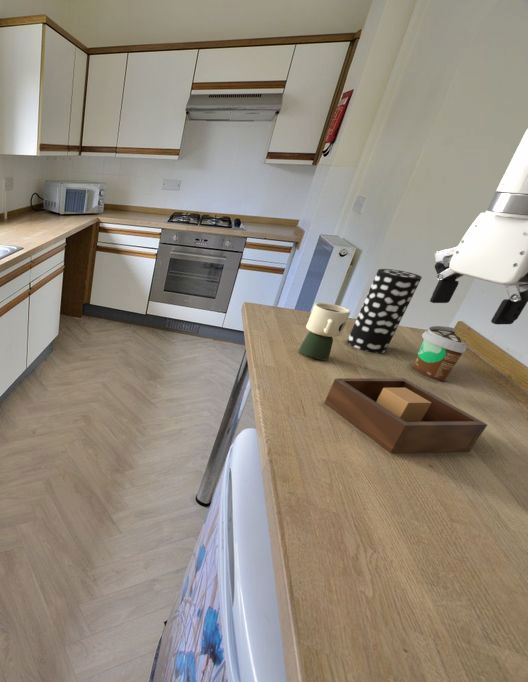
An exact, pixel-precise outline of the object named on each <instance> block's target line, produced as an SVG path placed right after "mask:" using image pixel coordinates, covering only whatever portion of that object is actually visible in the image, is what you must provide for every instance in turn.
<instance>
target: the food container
mask: <svg viewBox="0 0 528 682" xmlns="http://www.w3.org/2000/svg"><path fill="white" fill-rule="evenodd" d="M456 331H457V328H456V327H450V326H441V325H434V326H430V327H429V328H427V329H426V330H425V331H424V332H422V334H421V337H422V339H423V341H422V343H421V345H420V348H419V350H418V352H417V355H416V357H415V360H414V361H413V365H412V369H413V370H414V371H415V372H417V373H418V374H420V375H422V376H424V377H427V378H428V379H432V380H435V381H437V382H442V383H445V382H446V380H447V379H448V377H449V375H450V374H451V372H452V370H453V369H454V367H455V366H456V364H457V363H458V361H459V360H460V358H461V356H462V355H463V354H465V351H467V348H468V345H469V344H468V343H465V342H462V340H461V339H462V338H461V337H460V336H458V335H457V334H456Z"/></svg>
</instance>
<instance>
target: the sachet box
mask: <svg viewBox="0 0 528 682" xmlns="http://www.w3.org/2000/svg"><path fill="white" fill-rule="evenodd" d="M376 403H378V404H379V405H381V406H382V407H384V408H385V409H387V410H388V411H390V412H391V413H393V414H394V415H396V416H398V417H399V418H401V419H402V420H404V421H405V422H421V420H422V418H423V417H424V415H425V413H426V412H427V410H428V408H429V406H430V405H431V402H430V401H428V400H426V399H424V398H423V397H421V396H419V395H417V394H416V393H414V392H412V391H410V390H409V389H407V388H383V390H382V392H381V394H380V396H379V398H378V399H377V401H376Z"/></svg>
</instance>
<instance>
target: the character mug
mask: <svg viewBox="0 0 528 682" xmlns="http://www.w3.org/2000/svg"><path fill="white" fill-rule="evenodd" d="M350 314H351V310H350V309H348V308H347V307H344V306H341V305H338V304H334V303H330V302H316V303H314V304H313V308H312V310H311V312H310V315H309V318H308V320H307V323H306V326H305V329H306V330H307V331H309V332H308V333H307V334H306V336H305V338H304V340H303V341H302V343H301V344H300V347H299V349H298V351H299V353H301V354H302V355H305V356H307V357H310V358H312V359H318V360H322V361H327V360H329V358H330V355H331V351H332V347H333V342H334V339H333V337H335V338H337V337H339V336H341V335H342V333H343V331H344V329H345V326H346V325H347V321H348V319H349V317H350Z"/></svg>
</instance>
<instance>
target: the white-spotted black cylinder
mask: <svg viewBox="0 0 528 682" xmlns="http://www.w3.org/2000/svg"><path fill="white" fill-rule="evenodd" d="M422 278H423V277H422V275H419V274H417V273H413V272H409V271H404V270H398V269H390V268H379V269H377V272H376V274H375V276H374V279H373V281H372V283H371V285H370V288H369V290H368V292H367V294H366V297H365V299H364V302H363V304H362V306H361V308H360V309H359V310H360V311H359V313H358V315H357V318H356V320H355V322H354V324H353V327H352V329H351V331H350V333H349V335H348V338H347V340H346V342H347V344H348V345H350V346H351V347H353V348H356V349H358V350H360V351H364V352H368V353H375V354H383V353H386V352H387V349H388V347H389V345H390V344H391V341H392V339H393V337H394V335H395V333H396V331H397V329H398V327H399V326H400V323H401V321H402V320H403V317H404V315H405V313H406V312H407V309H408V306H409V305H410V303H411V300H412V298H413V297H414V294H415V293H416V291H417V289H418V287H419V284H420V282H421V280H422Z"/></svg>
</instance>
